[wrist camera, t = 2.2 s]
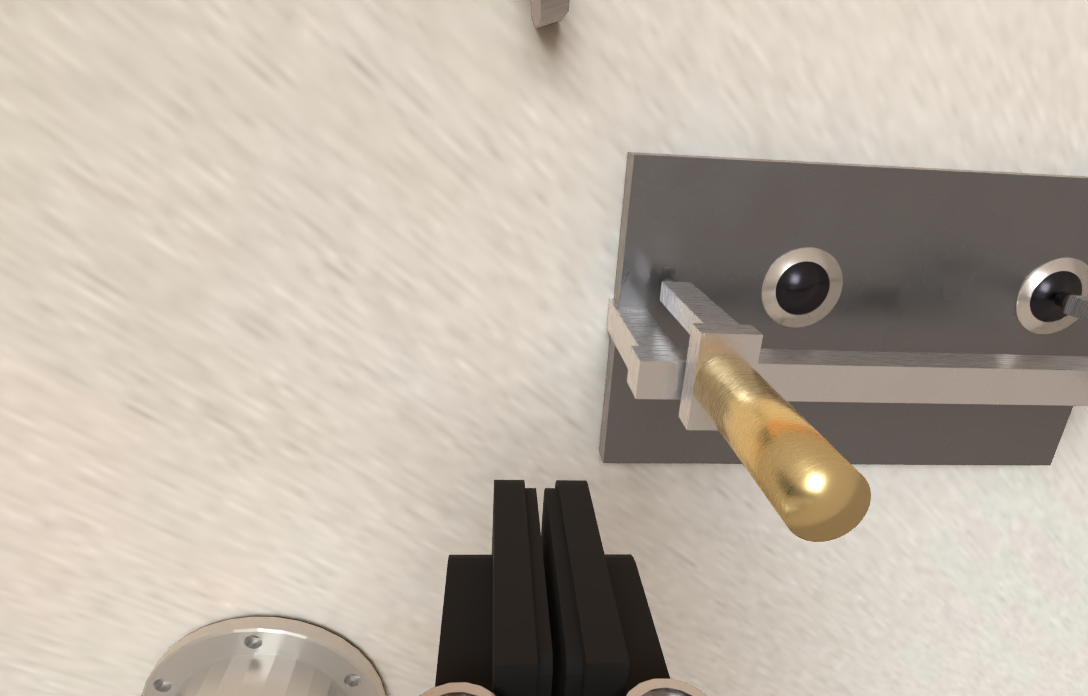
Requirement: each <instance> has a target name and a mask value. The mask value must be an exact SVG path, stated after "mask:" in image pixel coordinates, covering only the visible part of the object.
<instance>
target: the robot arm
mask: <svg viewBox="0 0 1088 696" xmlns="http://www.w3.org/2000/svg"><path fill="white" fill-rule="evenodd" d="M141 696H386V695H385V692H384V689H383V685H382V682H381V679H380V678H379V676H378V674H377V673H376V671H375V669H374V668H373V666H372V664H371V663H370V662H369V661H368V660H367V659H366V658H365V657H364V656H363V655H362V653H361V652H360V651H359V650H357V649H356V648H355V647H353V646H352V645H351V644H349V643H348V642H347V641H345V640H344V639H342V638H341V637H339V636H337V635H335V634H333V633H331V632H329V631H327V630H325V629H323V628H320V627H317V626H314V625H311V624H308V623H305V622H301V621H297V620H291V619H285V618H279V617H244V618H237V619H229V620H225V621H221V622H218V623H214V624H211V625H208V626H205V627H203V628H201V629H199V630H197V631H194V632H192V633H190V634H188V635H186V636H185V637H184V638H182V639H181V640H180V641H178V642H177V643H176V644H174V645H173V646H172V647H170V648H169V649H168V651H167V652H166V653H165V654H164V655H163V656H162V658H161V659H160V660H159V661H158V662H157V664H156V666H155V667H154V669H153V671H152V672H151V674H150V676H149V677H148V679H147V681H146V683H145V686H144V689H143V692H142V695H141ZM420 696H707V695H706V694H705V693H703V692H702V691H701V690H699V689H697V688H695V687H693V686H691V685H689V684H687V683H685V682H681V681H677V680H673V679H670V677H669V673H668V670H667V667H666V663H665V660H664V656H663V653H662V650H661V646H660V643H659V640H658V636H657V633H656V630H655V626H654V623H653V620H652V616H651V613H650V609H649V606H648V603H647V599H646V596H645V593H644V589H643V586H642V583H641V579H640V576H639V573H638V569H637V566H636V563H635V560H634V558H633V556H632V555H604V551H603V547H602V542H601V538H600V534H599V530H598V525H597V521H596V517H595V513H594V508H593V504H592V500H591V496H590V491H589V487H588V483H587V481H570V480H557V481H556V484H555V488H545V490H544V501H543V516H542V531H541V533H540V523H539V513H538V503H537V493H536V488H525V483H524V480H494V504H493V535H492V555H449V558H448V566H447V576H446V585H445V595H444V605H443V615H442V625H441V634H440V644H439V654H438V664H437V673H436V683H435V687H433V688H432V689H430V690H428V691H427V692H425V693H423V694H422V695H420Z"/></svg>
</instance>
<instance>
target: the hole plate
mask: <svg viewBox="0 0 1088 696" xmlns="http://www.w3.org/2000/svg"><path fill="white" fill-rule="evenodd" d="M668 278H673V279H675V280H676V281H677V282H691V283H692V284H693V285H694V286H696V287H697V288H698V289H699V290H700V291H701V292H703V293H704V294H705V295H706V296H707V297H708V298H709V299H711V300H712V301H713V302H714V303H715V304H716V305H718V306H719V307H720V308H721V309H722V310H723V311H724V312H726V313H727V314H728V315H729V316H730V317H731V318H733V319H734V320H735V321H736V322H737V323H738V324H745V325H752V326H753V327H754V328H756V329H757V330H758V331H759V332H760V333H762V334H763V339H762V344H761V349H793V350H836V351H879V352H921V353H964V354H1007V355H1049V356H1088V322H1087V321H1084V320H1081V319H1078V318H1076V317H1073V316H1070V315H1067V314H1065V313H1064V310H1065V309H1064V308H1062V307H1059V306H1056V305H1055V303H1054V299H1055V297H1056V295H1057V294H1058V293H1060V292H1063V291H1066V292H1069V293H1072V294H1075V295H1078V296H1088V177H1084V176H1065V175H1046V174H1027V173H1008V172H990V171H971V170H952V169H933V168H914V167H895V166H876V165H857V164H839V163H820V162H801V161H782V160H763V159H744V158H725V157H706V156H688V155H669V154H650V153H631V152H628V157H627V167H626V178H625V188H624V198H623V209H622V219H621V229H620V239H619V250H618V260H617V270H616V281H615V291H614V300H615V302H616V303H617V305H618V306H619V307H640V308H647V309H648V311H649V312H650V313H651V314H652V316H653V317H654V318H655V320H656V321H657V322H658V323H659V325H660V326H661V327H662V328H663V330H664V331H665V332H666V334H667V335H668V336H669V337H670V339H671V340H672V341H673V343H674V344H675V345H676V346H677V347H689V340H690V334H689V333H688V332H687V331H686V329H685V328H684V327H683V326H682V325H681V324H680V323H679V321H678V320H677V319H676V318H675V317H674V316H673V315H672V314H671V312H670V311H669V310H668V309H667V308H666V307H665V306H664V305H663V303H662V302H661V301H660V293H661V285H662V281H664V280H666V279H668ZM627 375H628V368H627V366H626V364H625V362H624V360H623V358H622V357H621V355H620V353H619V351H618V349H617V347H616V345H615V343H614V342H613V340H612V338H611V336H610V343H609V353H608V363H607V374H606V384H605V394H604V404H603V415H602V425H601V435H600V446H599V451H600V454H601V458H602V461H603V463H723V464H743V463H742V462H741V461H740V459H739V458H738V456H737V455H736V453H735V452H734V451H733V449H732V448H731V446H730V445H729V444H728V442H727V441H726V439H725V438H724V437H723V435H722V434H721V432H720V431H717V430H687V429H686V428H685V426H684V425H683V423H682V421H681V420H680V418H679V410H680V403H681V400H672V399H635V397H634V395H633V393H632V391H631V389H630V387H629V385H628V383H627ZM787 402H788V403H789V404H790V405H791V406H792V407H793V408H794V409H795V410H796V411H797V412H798V413H799V414H800V415H801V416H803V417H804V418H805V419H806V420H807V421H808V422H809V423H810V424H811V425H812V426H813V427H814V428H815V429H816V430H817V431H818V432H819V433H820V434H821V435H822V436H823V437H824V438H825V439H826V440H827V441H828V442H829V443H830V444H831V445H832V446H833V447H834V448H835V449H836V450H837V451H838V452H839V453H840V454H841V455H842V456H843V457H844V458H845V459H846V460H847V461H848V462H849V463H850V464H904V465H1051V462H1052V459H1053V457H1054V454H1055V452H1056V449H1057V446H1058V444H1059V441H1060V439H1061V436H1062V433H1063V431H1064V428H1065V426H1066V423H1067V420H1068V418H1069V415H1070V413H1071V410H1072V407H1073V406H1064V405H999V404H933V403H868V402H803V401H787Z"/></svg>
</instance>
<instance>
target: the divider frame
mask: <svg viewBox="0 0 1088 696" xmlns="http://www.w3.org/2000/svg"><path fill="white" fill-rule="evenodd" d="M1054 303H1055V305H1056V306H1059V307H1062V308H1064V309H1065V310H1064V313H1065V314H1067V315H1070V316H1073V317H1076V318H1078V319H1081V320H1084V321H1087V322H1088V296H1078V295H1075V294H1072V293H1069V292H1066V291H1063V292H1060V293H1058V294H1057V295H1056V297H1055V299H1054ZM607 330H608V332H609V334H610V336H611V338H612V340H613V342H614V343H615V345H616V347H617V349H618V351H619V353H620V355H621V357H622V358H623V360H624V362H625V364H626V366H627V368H628V375H627V383H628V385H629V387H630V389H631V391H632V393H633V395H634V397H635V399H672V400H681V396H682V389H683V382H684V375H685V368H686V361H687V354H688V347H677V346H676V345H675V344H674V343H673V341H672V340H671V339H670V337H669V336H668V335H667V334H666V332H665V331H664V330H663V328H662V327H661V326H660V325H659V323H658V322H657V321H656V320H655V318H654V317H653V316H652V314H651V313H650V312H649V311H648V309H647V308H640V307H619V306H618V305H617V303H616V302H615V300H614V299H609V308H608V318H607ZM757 372H758V373H759V374H760V375H761V376H762V377H763V378H764V379H765V380H766V381H767V382H768V383H769V384H770V385H771V386H772V387H773V388H774V389H775V390H776V391H777V392H778V393H779V394H780V395H781V396H782V397H783V398H784V399H785V400H786V401H803V402H868V403H933V404H999V405H1064V406H1088V356H1049V355H1007V354H964V353H921V352H879V351H836V350H793V349H760V355H759V360H758V366H757Z"/></svg>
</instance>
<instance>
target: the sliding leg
mask: <svg viewBox="0 0 1088 696" xmlns="http://www.w3.org/2000/svg"><path fill="white" fill-rule="evenodd" d="M660 301H661V302H662V303H663V305H664V306H665V307H666V308H667V309H668V310H669V311H670V312H671V314H672V315H673V316H674V317H675V318H676V319H677V320H678V321H679V323H680V324H681V325H682V326H683V327H684V328H685V329H686V331H687V332H688V333H689V334H690V340H689V347H688V354H687V361H686V368H685V375H684V382H683V389H682V396H681V403H680V410H679V418H680V420H681V421H682V423H683V425H684V426H685V428H686V429H687V430H717V431H720V432H721V434H722V435H723V437H724V438H725V439H726V441H727V442H728V444H729V445H730V446H731V448H732V449H733V451H734V452H735V453H736V455H737V456H738V458H739V459H740V461H741V462H742V463H743V465H744V466H745V468H746V469H747V470H748V472H749V473H750V475H751V476H752V477H753V479H754V480H755V482H756V483H757V484H758V486H759V487H760V489H761V490H762V491H763V493H764V494H765V496H766V497H767V498H768V500H769V501H770V503H771V504H772V505H773V507H774V508H775V510H776V511H777V512H778V514H779V515H780V517H781V518H782V519H783V521H784V522H785V524H786V525H787V526H788V528H789V529H790V530H791V532H792V533H794V534H795V535H796V536H798V537H800V538H802V539H804V540H807V541H813V542H822V541H829V540H833V539H836V538H838V537H841V536H843V535H845V534H846V533H848V532H849V531H851V530H852V529H853V528H855V527H856V526H857V525H858V524H859V523H860V521H861V520H862V519H863V517H864V516H865V514H866V512H867V510H868V508H869V505H870V500H871V492H870V487H869V484H868V482H867V481H866V479H865V478H864V477H863V476H862V475H861V474H860V473H859V472H858V471H857V470H856V469H855V468H854V467H853V466H852V465H851V464H850V463H849V462H848V461H847V460H846V459H845V458H844V457H843V456H842V455H841V454H840V453H839V452H838V451H837V450H836V449H835V448H834V447H833V446H832V445H831V444H830V443H829V442H828V441H827V440H826V439H825V438H824V437H823V436H822V435H821V434H820V433H819V432H818V431H817V430H816V429H815V428H814V427H813V426H812V425H811V424H810V423H809V422H808V421H807V420H806V419H805V418H804V417H803V416H801V415H800V414H799V413H798V412H797V411H796V410H795V409H794V408H793V407H792V406H791V405H790V404H789V403H788V402H787V401H786V400H785V399H784V398H783V397H782V396H781V395H780V394H779V393H778V392H777V391H776V390H775V389H774V388H773V387H772V386H771V385H770V384H769V383H768V382H767V381H766V380H765V379H764V378H763V377H762V376H761V375H760V374H759V373H758V372H757V366H758V360H759V355H760V349H761V344H762V339H763V334H762V333H760V332H759V331H758V330H757V329H756V328H754V327H753V326H752V325H745V324H738V323H737V322H736V321H735V320H734V319H733V318H731V317H730V316H729V315H728V314H727V313H726V312H724V311H723V310H722V309H721V308H720V307H719V306H718V305H716V304H715V303H714V302H713V301H712V300H711V299H709V298H708V297H707V296H706V295H705V294H704V293H703V292H701V291H700V290H699V289H698V288H697V287H696V286H694V285H693V284H692V283H691V282H677V281H676V280H675V279H673V278H668V279H666V280H664V281H662V285H661V293H660Z"/></svg>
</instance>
